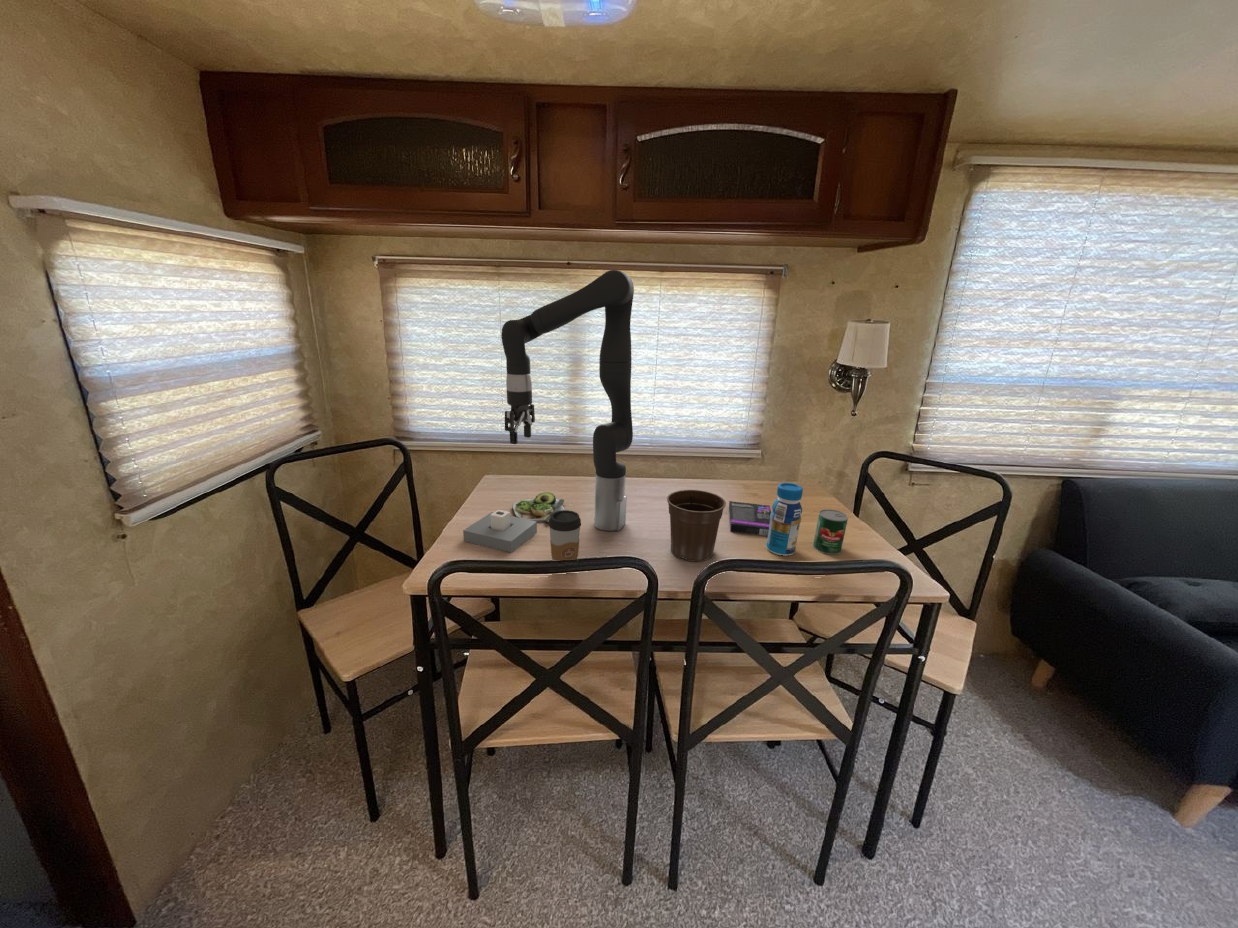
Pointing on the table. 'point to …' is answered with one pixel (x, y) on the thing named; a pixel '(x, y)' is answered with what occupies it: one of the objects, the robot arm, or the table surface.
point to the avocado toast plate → (538, 507)
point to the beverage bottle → (785, 520)
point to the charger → (500, 520)
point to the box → (749, 518)
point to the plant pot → (694, 523)
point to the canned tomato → (830, 531)
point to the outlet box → (500, 533)
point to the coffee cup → (564, 535)
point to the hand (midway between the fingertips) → (520, 440)
